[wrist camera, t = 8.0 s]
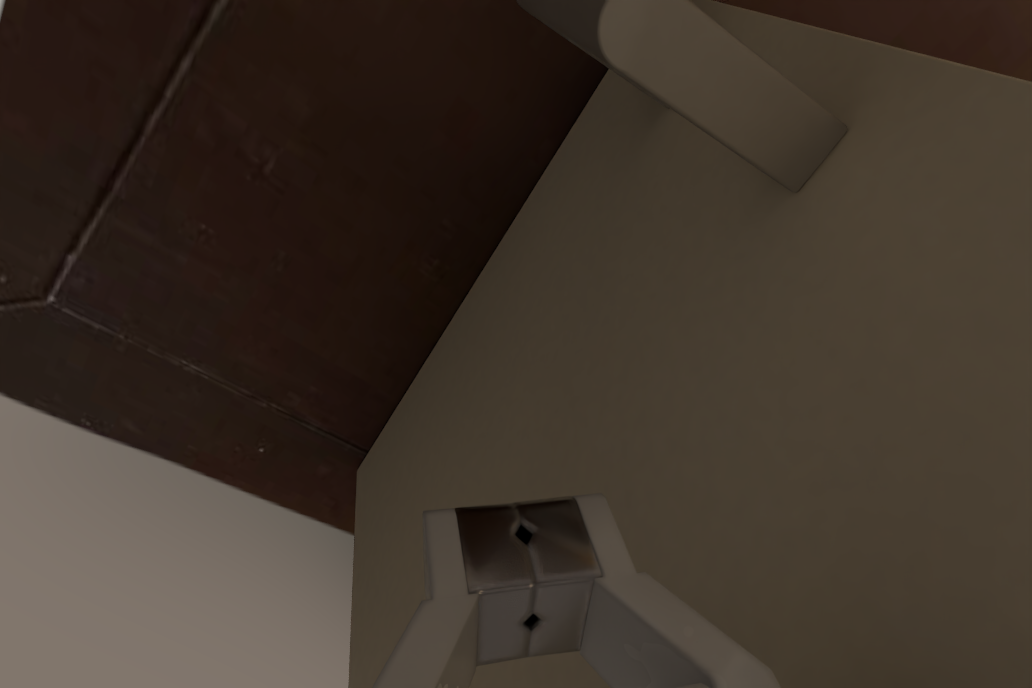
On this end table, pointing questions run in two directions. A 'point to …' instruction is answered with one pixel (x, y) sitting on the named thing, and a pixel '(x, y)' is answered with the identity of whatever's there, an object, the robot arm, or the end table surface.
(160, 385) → the end table surface
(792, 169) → the door
